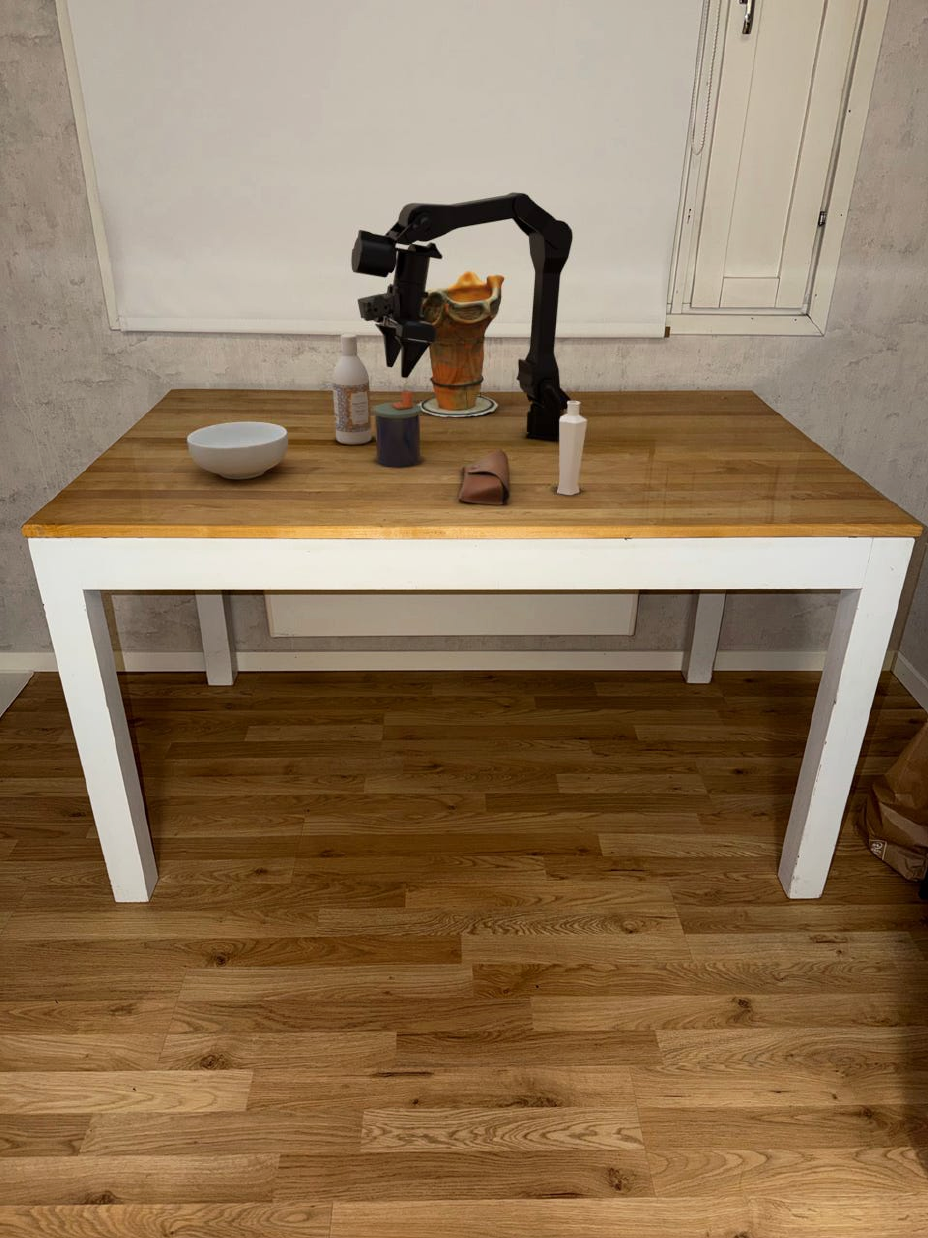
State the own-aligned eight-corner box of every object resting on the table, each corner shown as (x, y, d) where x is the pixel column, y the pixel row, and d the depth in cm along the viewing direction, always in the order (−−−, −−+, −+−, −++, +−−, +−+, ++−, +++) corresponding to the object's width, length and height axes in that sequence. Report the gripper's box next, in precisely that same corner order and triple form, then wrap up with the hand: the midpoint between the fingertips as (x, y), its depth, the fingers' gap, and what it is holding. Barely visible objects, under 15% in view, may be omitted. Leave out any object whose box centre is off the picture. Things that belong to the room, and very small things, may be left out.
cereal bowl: (291, 455, 161) (287, 418, 157) (290, 485, 146) (287, 444, 143) (197, 460, 158) (191, 421, 155) (187, 490, 144) (181, 449, 140)
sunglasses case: (460, 465, 155) (479, 434, 152) (493, 485, 156) (513, 454, 154) (457, 501, 139) (479, 467, 136) (494, 522, 141) (516, 489, 138)
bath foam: (346, 447, 166) (339, 339, 156) (330, 438, 171) (323, 333, 161) (377, 441, 169) (373, 336, 160) (361, 433, 174) (356, 330, 165)
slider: (406, 403, 157) (405, 389, 155) (413, 407, 154) (412, 392, 153) (391, 406, 155) (390, 391, 154) (398, 409, 153) (397, 394, 152)
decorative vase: (385, 409, 191) (380, 273, 178) (454, 390, 206) (455, 265, 193) (455, 426, 179) (456, 283, 166) (523, 406, 194) (529, 273, 181)
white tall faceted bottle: (580, 496, 143) (587, 406, 136) (554, 495, 143) (559, 405, 136) (582, 487, 147) (589, 399, 140) (556, 485, 147) (561, 398, 140)
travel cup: (408, 450, 164) (407, 399, 160) (430, 463, 158) (429, 410, 153) (367, 457, 160) (365, 405, 156) (387, 470, 154) (386, 416, 149)
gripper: (351, 268, 155) (341, 356, 161) (380, 281, 140) (367, 378, 146) (410, 278, 160) (397, 363, 166) (444, 291, 144) (429, 385, 151)
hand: (396, 372), depth 157 cm, fingers open, 9 cm apart
